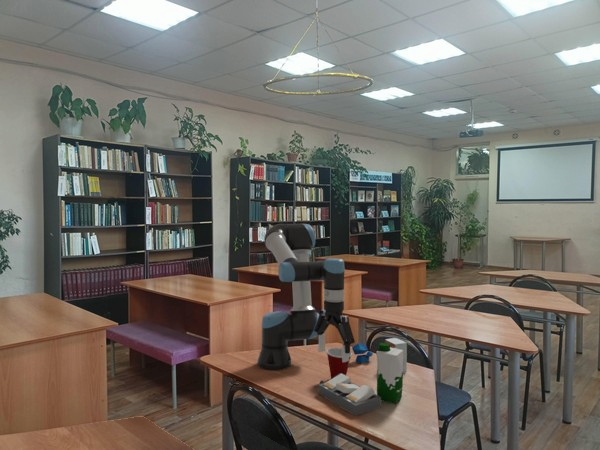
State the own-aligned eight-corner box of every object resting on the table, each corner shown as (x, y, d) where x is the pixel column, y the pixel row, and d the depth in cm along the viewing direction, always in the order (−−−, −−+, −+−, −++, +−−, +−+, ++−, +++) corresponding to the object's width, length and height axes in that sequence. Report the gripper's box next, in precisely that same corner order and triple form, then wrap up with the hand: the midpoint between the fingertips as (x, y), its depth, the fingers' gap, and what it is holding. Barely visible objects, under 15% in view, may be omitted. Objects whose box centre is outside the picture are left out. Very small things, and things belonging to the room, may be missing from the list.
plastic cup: (350, 386, 167) (351, 356, 166) (323, 384, 169) (324, 354, 168) (353, 376, 177) (353, 348, 177) (327, 374, 179) (327, 346, 179)
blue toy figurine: (377, 346, 196) (360, 345, 189) (374, 365, 195) (357, 364, 188) (365, 342, 202) (348, 341, 194) (362, 360, 201) (345, 360, 193)
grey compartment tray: (309, 388, 164) (309, 379, 164) (333, 381, 171) (333, 372, 171) (355, 415, 142) (355, 405, 142) (380, 406, 149) (381, 396, 149)
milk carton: (382, 391, 162) (382, 340, 162) (405, 397, 157) (405, 344, 157) (373, 399, 155) (374, 346, 154) (397, 405, 150) (398, 350, 149)
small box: (383, 368, 187) (384, 339, 187) (395, 366, 190) (396, 337, 189) (394, 374, 180) (395, 344, 179) (406, 372, 182) (407, 342, 182)
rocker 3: (346, 401, 148) (345, 396, 148) (365, 388, 153) (364, 384, 153) (356, 406, 144) (355, 401, 144) (374, 393, 149) (373, 388, 149)
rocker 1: (324, 388, 159) (323, 383, 159) (342, 377, 164) (341, 372, 164) (332, 392, 155) (331, 388, 155) (350, 381, 160) (349, 377, 160)
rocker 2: (335, 388, 154) (336, 382, 154) (353, 389, 159) (354, 383, 159) (344, 392, 150) (345, 387, 150) (362, 393, 155) (363, 388, 155)
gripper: (305, 295, 165) (305, 349, 165) (349, 307, 145) (348, 368, 145) (320, 293, 169) (320, 345, 170) (365, 304, 149) (364, 363, 150)
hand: (333, 356), depth 157 cm, fingers open, 13 cm apart
